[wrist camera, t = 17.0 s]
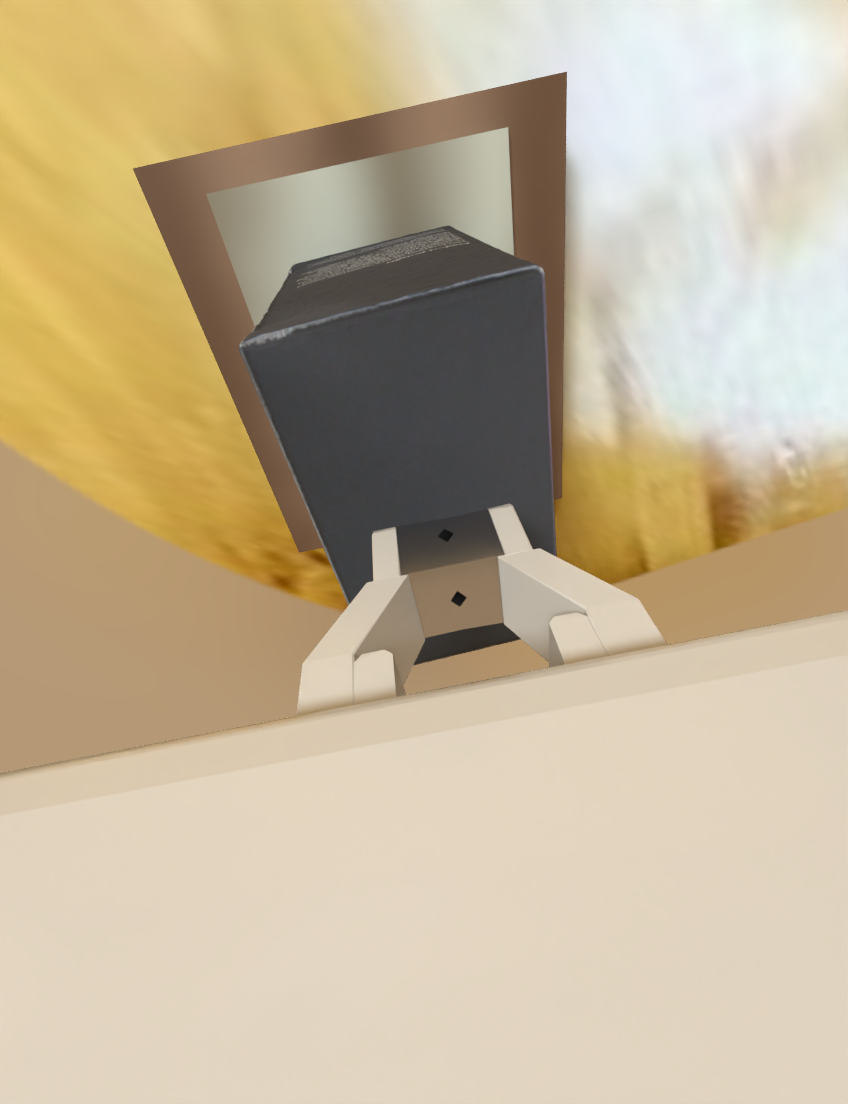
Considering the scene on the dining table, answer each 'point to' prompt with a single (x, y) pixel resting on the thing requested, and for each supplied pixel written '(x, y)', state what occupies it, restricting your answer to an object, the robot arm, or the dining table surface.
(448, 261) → the small box
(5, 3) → the dining table surface
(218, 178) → the walnut picture frame
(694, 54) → the dining table surface
